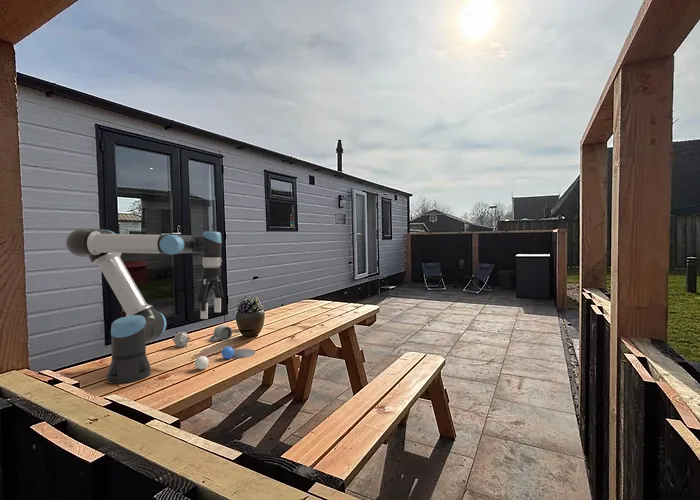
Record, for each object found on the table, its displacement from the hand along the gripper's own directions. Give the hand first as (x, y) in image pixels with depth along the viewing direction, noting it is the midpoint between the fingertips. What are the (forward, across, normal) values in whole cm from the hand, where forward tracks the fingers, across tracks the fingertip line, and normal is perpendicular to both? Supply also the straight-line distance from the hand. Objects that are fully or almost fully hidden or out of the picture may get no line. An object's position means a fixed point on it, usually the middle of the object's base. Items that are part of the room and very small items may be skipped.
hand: (211, 315), depth 157 cm
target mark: (+21, +15, -8) cm, 27 cm away
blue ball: (+19, +8, -5) cm, 21 cm away
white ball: (+19, -6, +1) cm, 20 cm away
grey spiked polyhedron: (+23, +25, +26) cm, 43 cm away
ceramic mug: (+22, +39, +12) cm, 46 cm away
